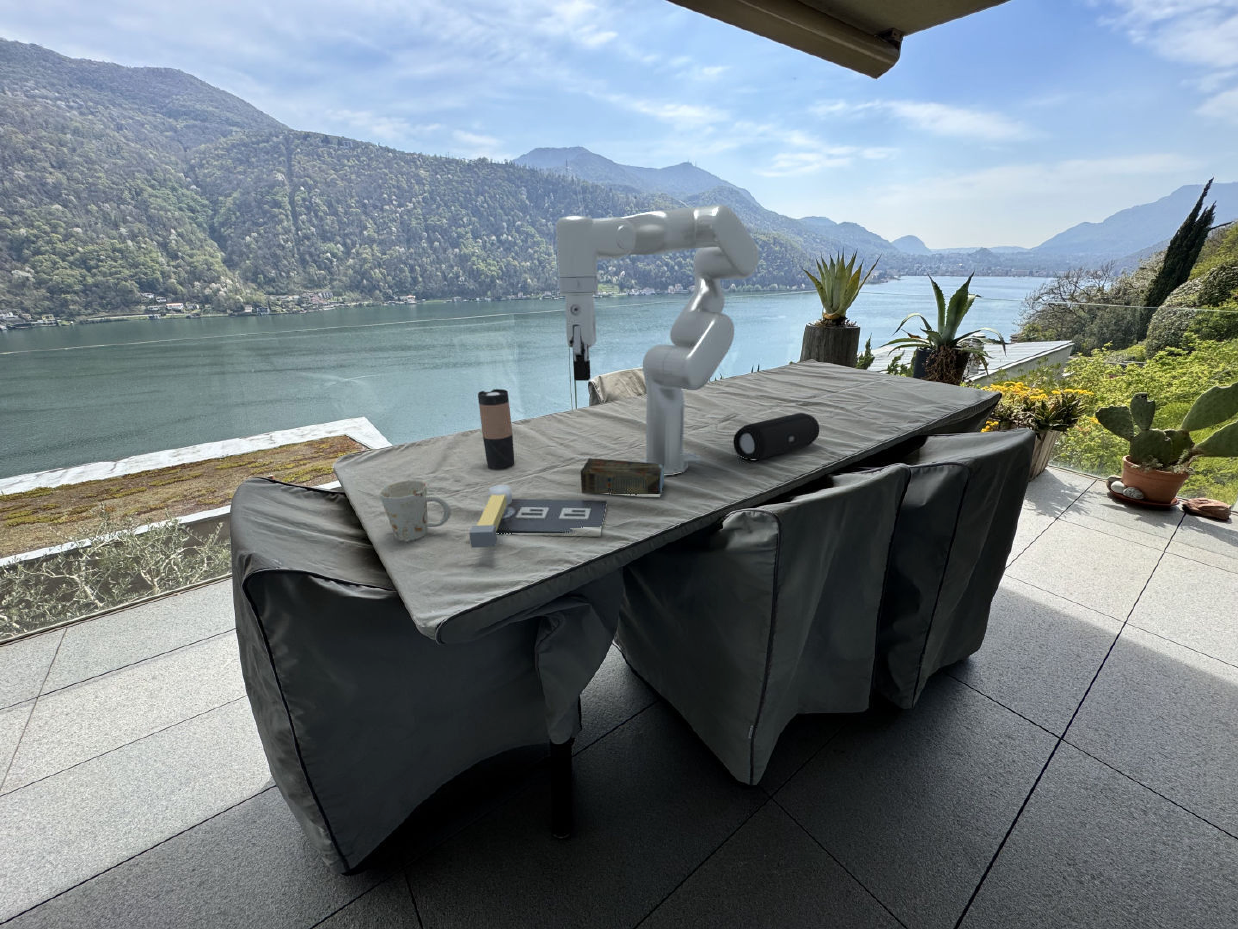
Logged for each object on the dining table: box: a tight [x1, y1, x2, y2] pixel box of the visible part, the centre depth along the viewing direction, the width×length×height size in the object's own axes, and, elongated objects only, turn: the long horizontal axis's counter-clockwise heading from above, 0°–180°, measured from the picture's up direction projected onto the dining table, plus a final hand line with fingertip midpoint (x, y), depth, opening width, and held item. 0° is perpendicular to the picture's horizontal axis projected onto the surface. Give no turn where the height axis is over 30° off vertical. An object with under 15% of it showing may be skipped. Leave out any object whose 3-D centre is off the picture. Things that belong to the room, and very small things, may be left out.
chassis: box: [496, 498, 608, 534], centre depth 100 cm, size 24×14×4 cm, turn 86°
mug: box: [378, 479, 452, 541], centre depth 94 cm, size 8×13×10 cm, turn 95°
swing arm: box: [468, 484, 513, 549], centre depth 92 cm, size 20×4×3 cm, turn 3°
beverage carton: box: [580, 457, 666, 495], centre depth 113 cm, size 8×19×7 cm, turn 79°
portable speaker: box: [732, 412, 820, 461], centre depth 134 cm, size 26×10×10 cm, turn 121°
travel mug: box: [477, 388, 515, 471], centre depth 126 cm, size 8×8×20 cm
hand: (582, 379), depth 101 cm, fingers closed
